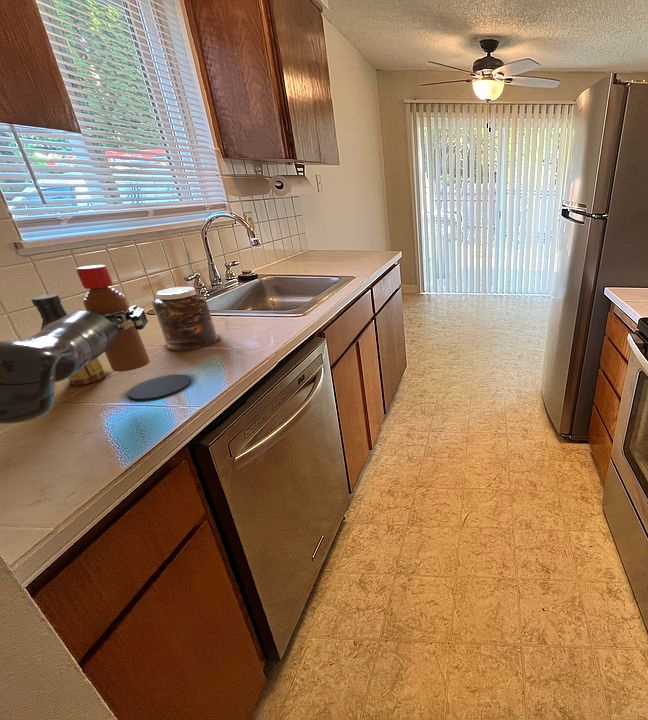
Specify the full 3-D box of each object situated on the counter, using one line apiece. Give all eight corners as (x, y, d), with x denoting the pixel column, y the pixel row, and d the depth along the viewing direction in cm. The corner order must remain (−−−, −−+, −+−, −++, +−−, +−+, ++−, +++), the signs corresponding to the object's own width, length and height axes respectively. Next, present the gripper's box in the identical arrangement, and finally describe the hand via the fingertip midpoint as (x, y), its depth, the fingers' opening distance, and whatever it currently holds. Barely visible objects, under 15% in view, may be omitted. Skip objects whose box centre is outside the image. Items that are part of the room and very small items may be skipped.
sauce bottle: (102, 371, 95) (64, 290, 87) (110, 378, 92) (72, 294, 83) (65, 382, 90) (22, 297, 82) (72, 390, 87) (28, 301, 78)
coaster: (115, 400, 82) (113, 398, 82) (157, 376, 92) (156, 374, 92) (165, 401, 82) (164, 399, 81) (202, 377, 92) (201, 375, 91)
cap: (78, 288, 73) (69, 269, 72) (98, 283, 77) (91, 264, 75) (98, 288, 73) (90, 269, 71) (118, 283, 76) (111, 264, 75)
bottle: (104, 371, 79) (60, 273, 71) (130, 359, 84) (92, 266, 76) (132, 371, 78) (91, 272, 71) (157, 359, 84) (121, 266, 76)
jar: (217, 332, 119) (201, 282, 112) (218, 344, 110) (202, 291, 103) (168, 341, 113) (149, 289, 107) (166, 354, 104) (145, 298, 98)
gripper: (29, 368, 64) (78, 336, 78) (138, 353, 69) (166, 325, 83) (6, 324, 61) (61, 298, 75) (121, 312, 66) (153, 290, 80)
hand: (116, 312), depth 79 cm, fingers closed on bottle, 6 cm apart
